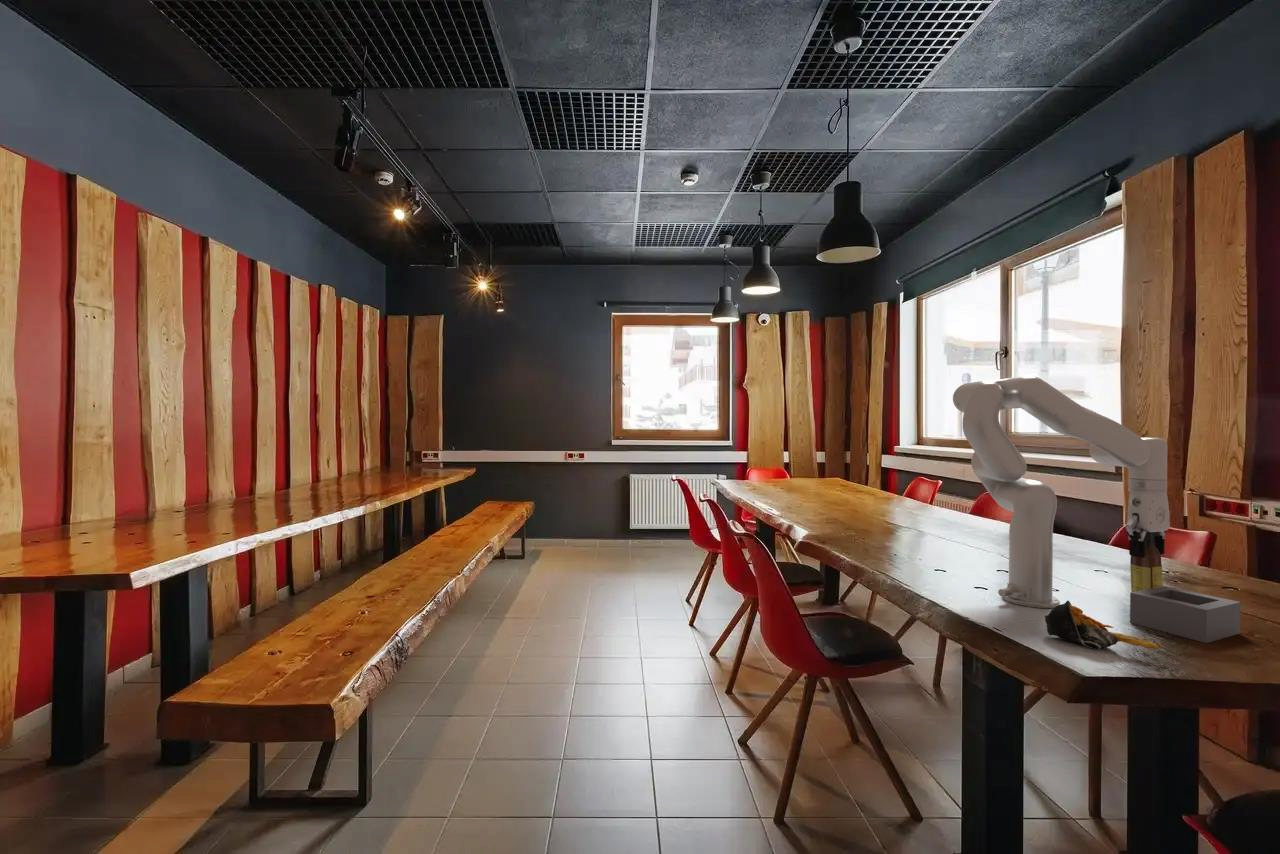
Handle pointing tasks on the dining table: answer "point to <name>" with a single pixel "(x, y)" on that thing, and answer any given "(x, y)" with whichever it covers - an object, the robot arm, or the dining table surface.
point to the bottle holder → (1185, 613)
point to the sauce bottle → (1146, 566)
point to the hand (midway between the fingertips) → (1146, 554)
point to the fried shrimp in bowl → (1087, 629)
